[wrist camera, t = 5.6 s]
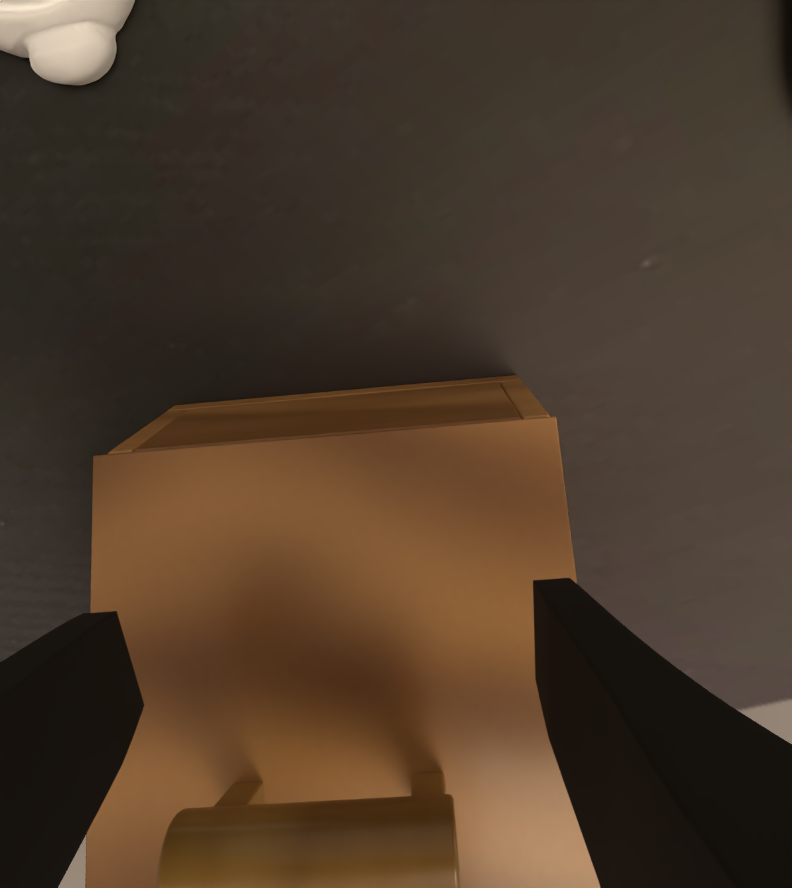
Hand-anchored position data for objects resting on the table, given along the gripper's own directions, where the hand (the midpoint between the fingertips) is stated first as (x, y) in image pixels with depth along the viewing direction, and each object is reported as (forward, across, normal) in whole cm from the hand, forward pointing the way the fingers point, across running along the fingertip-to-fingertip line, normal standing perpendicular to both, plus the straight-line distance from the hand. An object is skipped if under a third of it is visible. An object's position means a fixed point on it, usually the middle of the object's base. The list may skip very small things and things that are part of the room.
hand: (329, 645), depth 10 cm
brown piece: (+3, +1, +3) cm, 4 cm away
